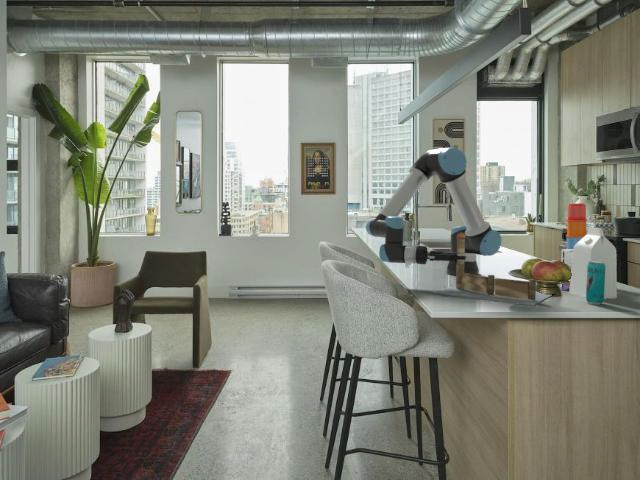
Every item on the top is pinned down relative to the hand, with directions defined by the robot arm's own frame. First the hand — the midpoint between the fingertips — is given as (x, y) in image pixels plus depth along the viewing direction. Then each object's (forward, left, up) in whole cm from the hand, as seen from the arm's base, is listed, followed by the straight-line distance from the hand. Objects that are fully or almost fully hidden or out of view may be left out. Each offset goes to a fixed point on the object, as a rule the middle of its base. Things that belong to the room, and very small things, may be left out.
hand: (474, 257), depth 219 cm
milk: (-19, +40, -14) cm, 46 cm away
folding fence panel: (+4, 0, -12) cm, 13 cm away
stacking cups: (-46, +28, -14) cm, 55 cm away
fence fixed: (+7, +17, -12) cm, 22 cm away
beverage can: (-3, +44, -14) cm, 46 cm away
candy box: (-29, +33, -14) cm, 46 cm away
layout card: (+1, +9, -13) cm, 16 cm away
